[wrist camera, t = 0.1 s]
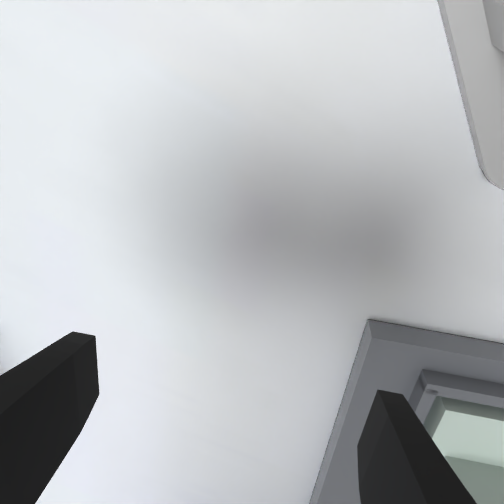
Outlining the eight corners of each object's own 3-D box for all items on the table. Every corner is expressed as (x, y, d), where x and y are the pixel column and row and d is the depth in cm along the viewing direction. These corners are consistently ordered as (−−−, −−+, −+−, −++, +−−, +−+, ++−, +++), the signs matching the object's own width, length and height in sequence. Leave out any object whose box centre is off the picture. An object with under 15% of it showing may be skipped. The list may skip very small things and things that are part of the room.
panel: (519, 585, 28) (539, 634, 26) (298, 537, 29) (297, 580, 27) (694, 378, 19) (749, 423, 17) (367, 319, 20) (375, 354, 18)
